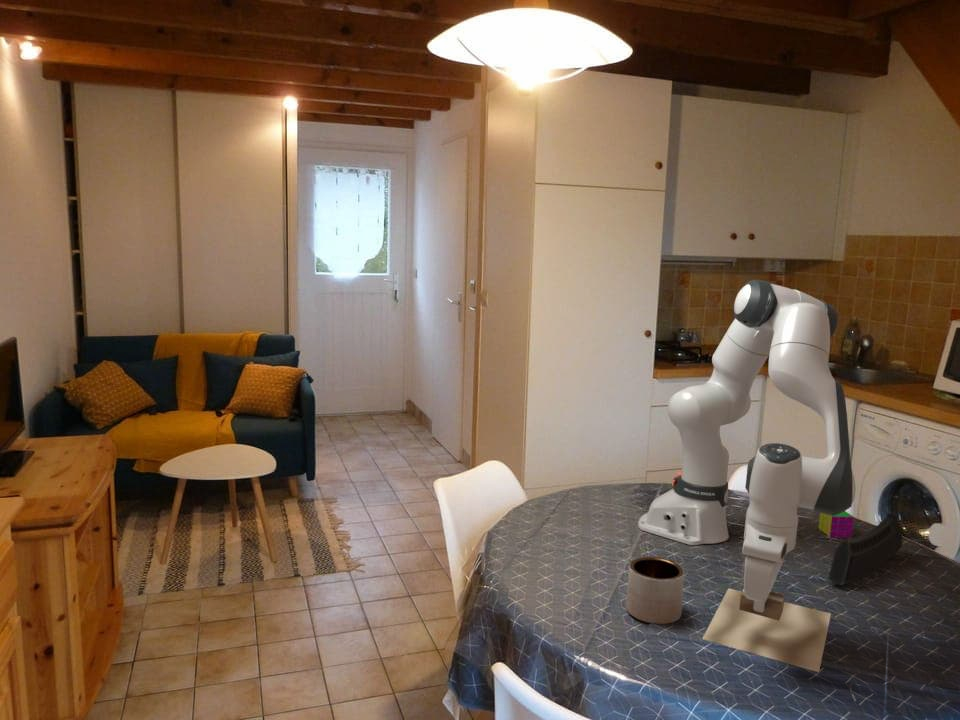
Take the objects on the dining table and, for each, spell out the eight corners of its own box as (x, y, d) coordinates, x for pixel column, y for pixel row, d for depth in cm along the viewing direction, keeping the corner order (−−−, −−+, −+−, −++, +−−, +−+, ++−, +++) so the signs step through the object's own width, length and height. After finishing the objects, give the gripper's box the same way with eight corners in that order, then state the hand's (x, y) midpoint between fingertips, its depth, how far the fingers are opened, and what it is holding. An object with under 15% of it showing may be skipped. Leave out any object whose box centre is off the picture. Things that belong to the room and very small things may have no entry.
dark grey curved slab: (841, 554, 157) (902, 489, 174) (826, 549, 160) (888, 485, 176) (843, 619, 163) (903, 550, 180) (829, 613, 166) (889, 545, 182)
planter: (671, 632, 141) (675, 585, 140) (617, 615, 147) (620, 570, 145) (688, 609, 150) (691, 565, 149) (636, 594, 156) (639, 551, 155)
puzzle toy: (839, 529, 196) (841, 508, 195) (851, 537, 190) (853, 516, 189) (818, 529, 195) (820, 508, 194) (829, 537, 190) (831, 516, 189)
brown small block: (739, 609, 138) (740, 594, 137) (744, 599, 142) (745, 584, 141) (779, 620, 134) (780, 605, 134) (783, 610, 138) (784, 595, 138)
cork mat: (701, 641, 138) (702, 638, 138) (728, 590, 159) (728, 588, 159) (818, 675, 129) (818, 672, 128) (830, 616, 149) (831, 613, 149)
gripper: (762, 511, 146) (754, 577, 148) (740, 548, 128) (732, 621, 131) (796, 519, 143) (788, 585, 145) (779, 557, 125) (770, 632, 128)
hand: (761, 603), depth 138 cm, fingers closed on brown small block, 4 cm apart
